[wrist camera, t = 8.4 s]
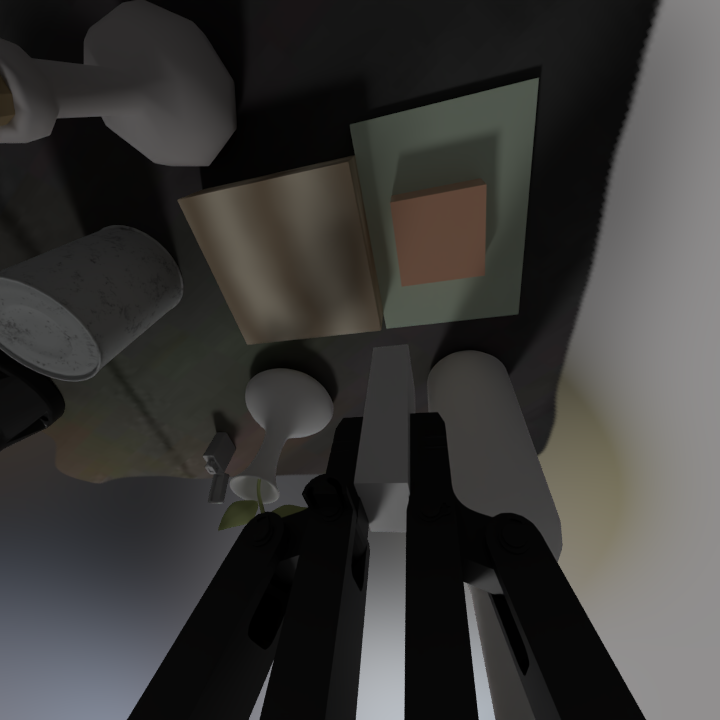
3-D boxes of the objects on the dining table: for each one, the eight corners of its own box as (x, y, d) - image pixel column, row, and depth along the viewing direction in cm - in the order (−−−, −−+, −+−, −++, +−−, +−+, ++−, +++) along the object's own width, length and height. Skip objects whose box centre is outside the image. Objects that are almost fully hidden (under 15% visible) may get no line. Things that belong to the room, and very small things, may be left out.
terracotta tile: (402, 275, 31) (401, 286, 30) (391, 195, 27) (390, 202, 25) (480, 264, 30) (484, 275, 28) (480, 177, 26) (486, 184, 24)
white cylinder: (109, 202, 31) (-27, 247, 22) (199, 273, 35) (116, 339, 25) (81, 269, 36) (-40, 329, 26) (162, 326, 39) (82, 398, 30)
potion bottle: (245, 25, 23) (-30, -103, 8) (251, 171, 28) (90, 241, 14) (119, -1, 23) (-369, -173, 8) (149, 151, 28) (-115, 200, 14)
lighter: (215, 432, 51) (188, 478, 45) (226, 432, 50) (199, 478, 44) (233, 460, 55) (210, 507, 49) (243, 460, 55) (221, 507, 48)
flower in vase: (260, 421, 48) (155, 642, 28) (241, 357, 41) (84, 592, 21) (350, 427, 46) (305, 666, 27) (346, 363, 40) (281, 620, 20)
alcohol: (465, 414, 42) (534, 809, 19) (411, 380, 40) (412, 782, 16) (523, 373, 37) (716, 839, 14) (465, 331, 35) (579, 806, 11)
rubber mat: (386, 326, 36) (386, 328, 35) (350, 124, 25) (349, 124, 25) (517, 311, 33) (518, 314, 32) (536, 78, 22) (538, 77, 22)
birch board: (261, 324, 38) (247, 344, 34) (202, 189, 29) (177, 199, 26) (383, 309, 35) (381, 330, 31) (355, 154, 26) (348, 161, 23)
